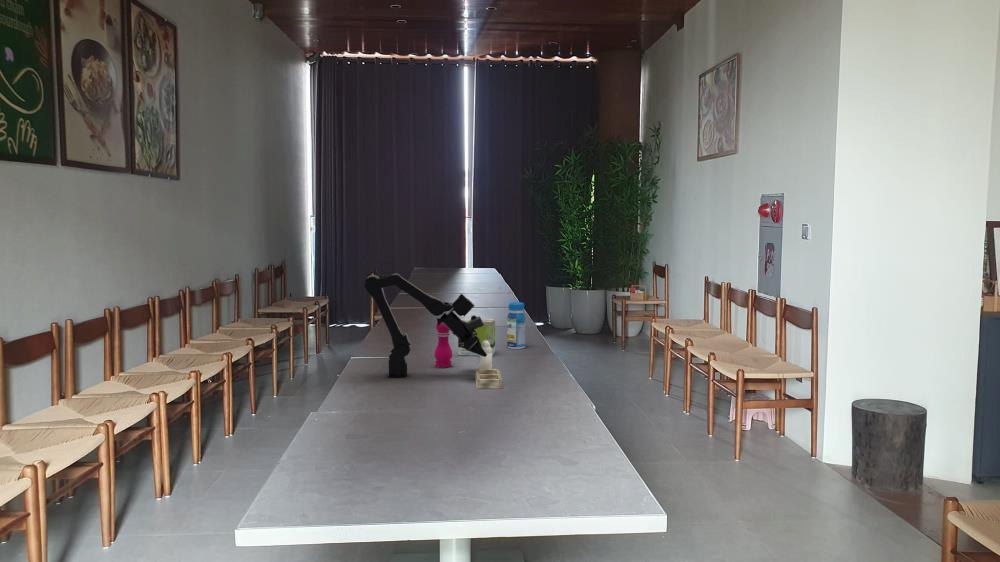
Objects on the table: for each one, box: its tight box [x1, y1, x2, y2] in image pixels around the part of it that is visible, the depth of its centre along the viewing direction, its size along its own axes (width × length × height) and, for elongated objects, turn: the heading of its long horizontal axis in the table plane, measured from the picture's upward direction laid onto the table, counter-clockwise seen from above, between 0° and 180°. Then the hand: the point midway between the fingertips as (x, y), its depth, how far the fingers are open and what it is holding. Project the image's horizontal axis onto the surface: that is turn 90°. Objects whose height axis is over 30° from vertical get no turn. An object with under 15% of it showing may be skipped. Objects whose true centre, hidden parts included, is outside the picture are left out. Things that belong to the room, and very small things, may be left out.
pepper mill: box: [433, 322, 453, 368], centre depth 297 cm, size 7×7×20 cm
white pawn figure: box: [478, 341, 493, 369], centre depth 283 cm, size 5×5×13 cm
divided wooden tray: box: [474, 368, 504, 390], centre depth 271 cm, size 9×17×3 cm, turn 4°
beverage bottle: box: [506, 301, 527, 350], centre depth 335 cm, size 8×8×20 cm
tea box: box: [457, 318, 496, 357], centre depth 321 cm, size 15×10×15 cm, turn 84°
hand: (485, 353), depth 283 cm, fingers open, 9 cm apart
